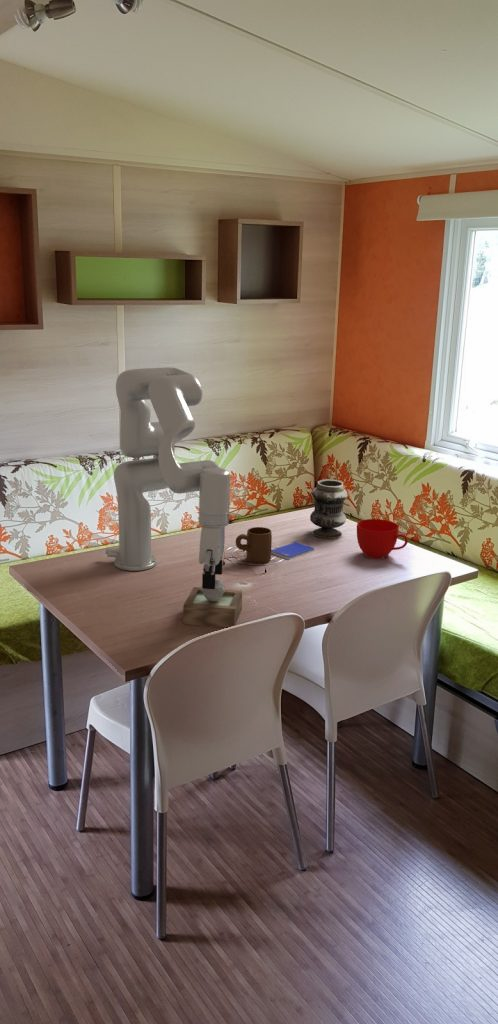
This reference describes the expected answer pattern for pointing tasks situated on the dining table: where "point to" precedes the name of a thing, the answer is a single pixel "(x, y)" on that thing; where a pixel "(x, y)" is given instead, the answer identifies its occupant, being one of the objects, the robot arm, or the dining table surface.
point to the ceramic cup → (378, 537)
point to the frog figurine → (214, 591)
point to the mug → (256, 544)
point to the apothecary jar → (328, 508)
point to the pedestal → (212, 609)
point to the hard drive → (292, 550)
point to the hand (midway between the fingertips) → (212, 581)
